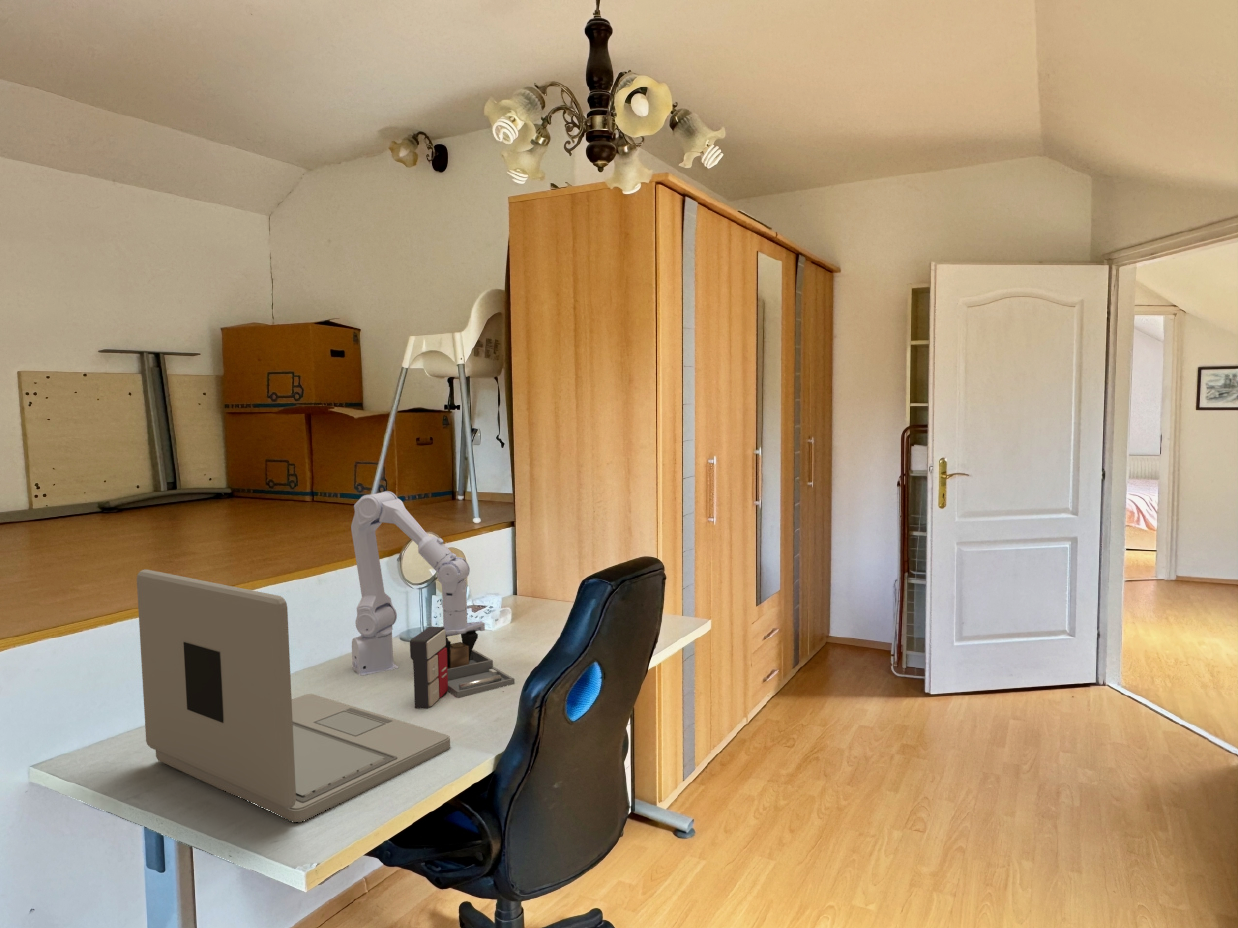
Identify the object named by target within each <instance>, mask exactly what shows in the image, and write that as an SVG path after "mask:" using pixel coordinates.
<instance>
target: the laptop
mask: <svg viewBox="0 0 1238 928" xmlns="http://www.w3.org/2000/svg"><path fill="white" fill-rule="evenodd" d="M136 590H137V591H136V592H137V609H138V610H137V611H138V623H139V624H138V627H139V641H140V642H139V643H140V644H139V645H140V658H141V659H140V660H141V662H140V663H141V674H142V675H141V677H142V694H143V695H142V697H143V709H144V725H145V727H144V728H145V742H146V745H147V746H148V747H149V748H150V749H152V750H155V758H156V760H158V762H161V763H163V764H165V765H168V766H169V767H171V768H174V769H176V770H178V771H179V772H182V773H184V774H187V775H189V776H191V777H193V778H195V779H197V780H200V781H202V782H204V783H206V784H208V785H210V786H213V787H215V788H217V789H219V790H222V791H223V790H224V792H225V791H226V793H228V794H230V793H231V794H230V795H232V794H233V795H232V796H234V795H235V796H234V797H236V796H239V797H241V798H243V799H245V800H248V801H250V802H252V803H255V804H257V805H258V806H261V807H263V808H265V809H268V810H270V811H272V812H274V813H276V814H278V815H280V816H282V817H284V818H286V819H288V820H290V821H293V822H301V823H303V822H302V821H304V820H306V821H308V820H310V819H312V818H314V817H315V815H316V816H318V815H320V814H322V813H324V812H326V811H328V810H330V809H332V808H334V807H336V806H338V805H340V804H342V803H344V802H346V801H348V800H350V799H352V798H355V797H356V796H359V795H361V794H363V793H365V792H367V791H369V790H370V789H372V788H375V787H376V786H378V785H380V784H383V783H385V782H386V781H389V780H390V779H393V778H394V777H396V776H398V775H400V774H402V773H404V772H407V771H409V770H410V769H412V768H414V767H416V766H419V765H420V764H422V763H424V762H426V761H428V760H430V759H432V758H434V757H437V756H438V755H440V754H441V753H444V752H445V751H448V750H449V749H450V748H451V737H450V735H448V734H446V733H443V732H438V731H436V730H432V729H429V728H426V727H424V726H420V725H415V724H413V723H410V722H406V721H402V720H400V719H396V718H393V717H389V716H387V715H382V714H380V713H376V712H373V711H369V710H367V709H363V708H359V707H357V706H354V705H350V704H346V703H344V702H340V701H337V700H333V699H330V698H327V697H323V696H320V695H317V694H313V693H307V694H303V695H300V696H297V697H294V698H292V680H291V679H292V678H291V659H290V658H291V655H290V638H289V637H290V636H289V614H288V613H289V612H288V603H287V601H286V600H285V598H284V597H283V596H281V595H278V594H277V595H276V594H272V593H269V592H268V593H267V592H262V591H257V590H252V589H247V588H241V587H238V586H237V587H236V586H230V585H226V584H222V583H217V582H211V581H206V580H201V579H196V578H191V577H187V576H186V577H185V576H181V575H177V574H172V573H165V572H161V571H157V570H151V569H143V570H140V571H138V574H137V576H136ZM241 798H240V799H241ZM243 799H242V800H243ZM245 800H244V801H245ZM339 803H340V804H339ZM337 804H338V805H337ZM335 805H336V806H335ZM258 806H257V807H258ZM333 806H334V807H333ZM331 807H332V808H331ZM329 808H330V809H329ZM327 809H328V810H327ZM325 810H326V811H325ZM321 812H322V813H321ZM319 813H320V814H319ZM317 814H318V815H317ZM313 816H314V817H313ZM282 817H281V818H282ZM311 817H312V818H311ZM284 818H283V819H284ZM309 818H310V819H309ZM286 819H285V820H286ZM307 819H308V820H307ZM288 820H287V821H288ZM290 821H289V822H290ZM293 822H292V823H293ZM304 822H305V821H304Z"/></svg>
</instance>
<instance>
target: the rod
mask: <svg viewBox="0 0 1238 928" xmlns="http://www.w3.org/2000/svg"><path fill="white" fill-rule="evenodd" d="M501 680H502V678H501V676H500V675H498V676H493V677H489V678H485V679H480V680H476V681H471V682H467V683H462V684H459V690H464V689H468V688H473V687H477V686H481V685H486V684H490V683H494V682H499V681H501Z"/></svg>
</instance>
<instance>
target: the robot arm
mask: <svg viewBox="0 0 1238 928" xmlns="http://www.w3.org/2000/svg"><path fill="white" fill-rule="evenodd" d="M353 509H354V513H353V514H354V515H353V518H352V522H351V524H350V525H351V527H350V529H351V530H350V531H351V536H352V542H353V549H354V555H355V561H356V568H357V575H358V576H357V577H358V580H359V587H360V593H361V599H360V600H359V603H358V605H357V607H356V618H355V628H356V630H357V632H358V633H359V634H360V635H359V636H357V637H354V638H352V640H351V658H352V659H351V660H352V661H351V662H352V665H351V670H354V671H355V672H356V673H357V674H358V675H359V676H367V675H373V674H377V673H382V672H387V671H391V670H392V671H394V670H396V669H397V670H398V669H399V668H400V667H399V666H398V665H397V664H395V663H394V650H393V649H394V648H393V647H394V645H393V630H394V629H393V626H394V624H395V623H396V622H397V617H398V613H397V610H396V609H395V607H394V605H393V603H392V598H391V597H390V596H389V595H388V594H387V593H386V592H385V586H384V580H383V575H382V568H381V562H380V554H379V548H378V542H377V536H376V535H377V534H376V531H377V529H378V528H379V527H380V526H381V524H383V523H385V524H386V523H387V524H394V525H396V527H397V528H399V529H400V531H401V532H403V533H404V534H405V535H406V536H407V537H408V538H410V540H412V541H413V542H414V543H415V544H416V545H417V546H418V547H417V549H418V550H417V551H418V554H419V555H420V556H421V557H422V558H423V559H424V561H426V562H427V564H428V565H430V566H431V568H432V569H433V570H434V571H436V572H437V573H436V577H437V581H438V582H439V583H440V584H441V591H442V592H441V593H442V594H441V596H442V597H441V598H442V620H443V621H442V624H443V625H442V627H444V628H445V633H446V645H445V648H447V668H448V667H450V655H449V654H450V644H452V641H450V640H449V638H448V637H452V636H458V635H460V637H461V642H462V643H464V644H466V645H467V646H469V662H470V657H471V653H472V650H474V646H475V644H476V642H477V640H478V637H479V636H478V635H479V633H477V632H479V631H480V632H483V631H486V629H485V628H486V625H485V624H486V623H485V622H483V621H471V622H468V605H467V604H468V601H467V598H468V596H467V578H468V577H469V576H470V572H471V571H470V565H469V563H468V561H467V560H466V559H465V558H463V557H460V556H457V554H456V552H455V553H453V552H452V551H451V550H450V549H449V548H448V547H447V546H446V545H445V544H444V540H443V539H442V538H441V537H437V536H435V535H433V536H432V535H429V534H428V533H427V532H426V531H425V530H424V529H423V527H422V526H421V525H420V524H419V522H418V521H417V520H416V519H415V517H413V515H412V514H411V513H410V512H409V511H408V509H406V507H405V505H404V502H403V501H402V500H401V499H400V498H398V496H397V495H396V493H394V492H392V491H389V490H385V491H381V492H377V493H373V494H364V495H362V496H361V497H360V498H359V499H358V500H357V501H356V503H354V505H353Z"/></svg>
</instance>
